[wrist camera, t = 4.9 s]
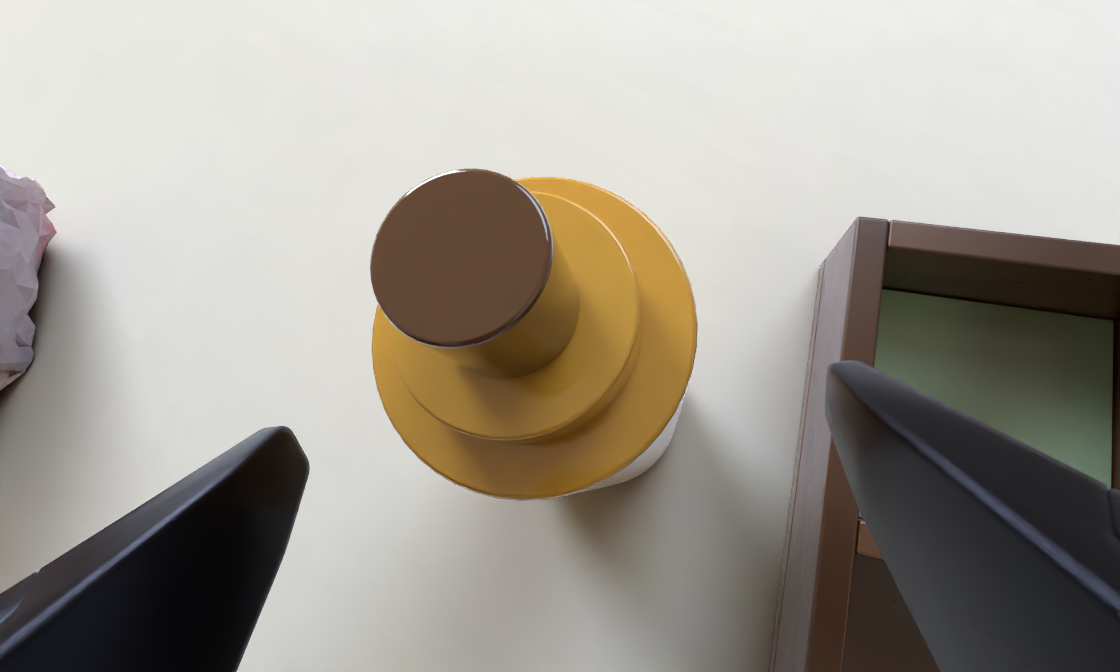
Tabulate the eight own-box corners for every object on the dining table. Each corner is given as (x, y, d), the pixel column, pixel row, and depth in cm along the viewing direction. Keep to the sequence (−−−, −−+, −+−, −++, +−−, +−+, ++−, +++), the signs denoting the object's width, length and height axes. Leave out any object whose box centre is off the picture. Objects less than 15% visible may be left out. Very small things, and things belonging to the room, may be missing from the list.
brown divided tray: (748, 823, 15) (775, 930, 11) (819, 264, 18) (857, 214, 15) (1121, 953, 13) (1288, 1127, 10) (1127, 304, 16) (1254, 258, 13)
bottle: (703, 361, 18) (795, 105, 5) (641, 514, 17) (584, 621, 5) (558, 305, 19) (368, -3, 7) (494, 445, 18) (149, 385, 6)
